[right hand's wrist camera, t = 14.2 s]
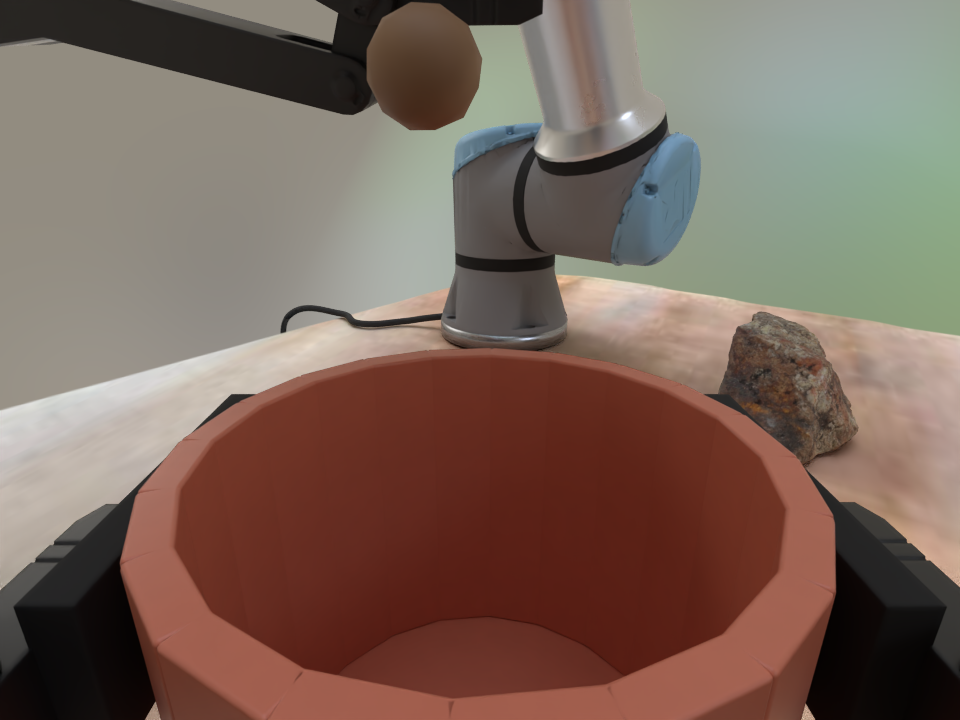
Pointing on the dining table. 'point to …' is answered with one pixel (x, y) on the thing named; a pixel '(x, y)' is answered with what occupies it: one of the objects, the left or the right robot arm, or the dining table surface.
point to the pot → (480, 550)
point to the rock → (788, 386)
